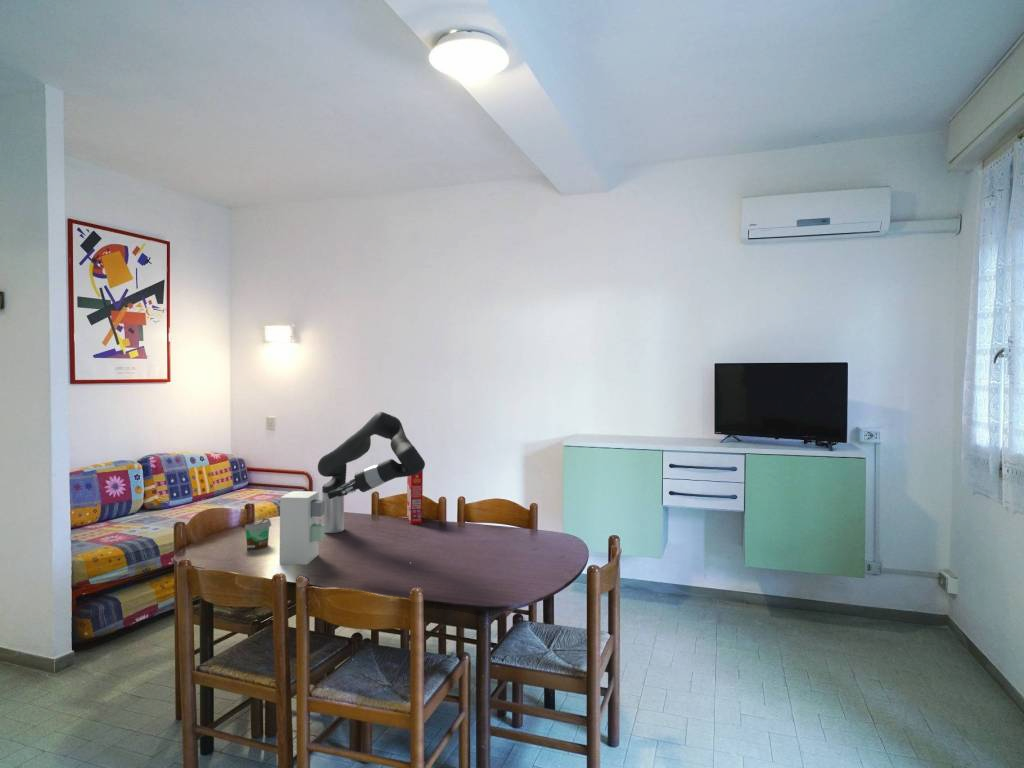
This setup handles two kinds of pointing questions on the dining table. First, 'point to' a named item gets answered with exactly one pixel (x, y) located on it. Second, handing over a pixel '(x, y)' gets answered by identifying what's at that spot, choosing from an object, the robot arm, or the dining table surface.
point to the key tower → (297, 528)
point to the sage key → (317, 532)
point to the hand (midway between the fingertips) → (329, 496)
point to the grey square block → (317, 508)
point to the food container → (257, 534)
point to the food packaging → (414, 498)
